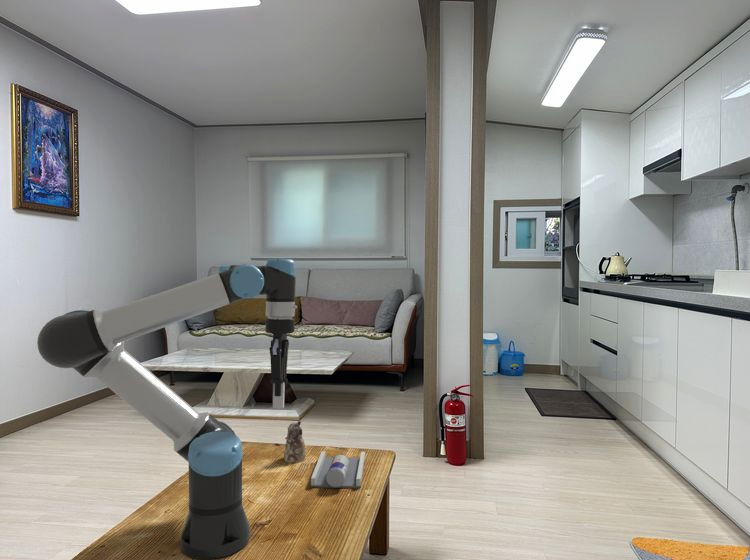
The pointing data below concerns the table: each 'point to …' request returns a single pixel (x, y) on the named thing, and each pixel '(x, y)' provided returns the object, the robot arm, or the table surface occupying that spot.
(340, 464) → the energy drink
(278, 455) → the table surface
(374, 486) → the table surface
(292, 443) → the figurine
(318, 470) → the tray
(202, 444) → the robot arm
